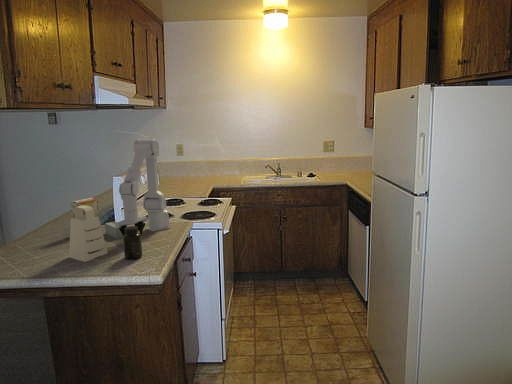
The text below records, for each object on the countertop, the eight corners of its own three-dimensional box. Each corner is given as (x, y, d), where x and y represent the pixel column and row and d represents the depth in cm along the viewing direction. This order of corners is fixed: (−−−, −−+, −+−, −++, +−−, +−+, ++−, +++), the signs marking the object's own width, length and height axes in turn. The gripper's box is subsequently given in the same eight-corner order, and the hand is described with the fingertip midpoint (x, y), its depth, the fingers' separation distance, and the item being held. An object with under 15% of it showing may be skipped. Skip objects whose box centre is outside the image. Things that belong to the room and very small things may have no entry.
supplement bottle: (121, 257, 169) (118, 227, 167) (137, 253, 174) (134, 224, 172) (130, 261, 164) (127, 230, 162) (146, 256, 169) (143, 227, 167)
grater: (92, 250, 180) (87, 203, 176) (108, 254, 174) (103, 205, 170) (69, 257, 171) (63, 208, 168) (84, 261, 165) (79, 211, 162)
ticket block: (116, 231, 205) (115, 221, 205) (127, 236, 197) (126, 225, 196) (105, 233, 202) (104, 223, 201) (116, 238, 193) (115, 227, 192)
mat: (124, 230, 209) (124, 229, 209) (150, 241, 190) (150, 240, 190) (98, 235, 200) (98, 235, 200) (122, 247, 181) (122, 247, 181)
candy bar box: (81, 237, 199) (77, 202, 196) (74, 236, 201) (70, 201, 198) (100, 231, 208) (97, 198, 205) (93, 230, 211) (90, 197, 208)
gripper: (139, 205, 192) (142, 235, 194) (110, 211, 181) (113, 243, 184) (149, 207, 187) (151, 237, 190) (119, 214, 177) (122, 246, 179)
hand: (133, 240), depth 186 cm, fingers closed on stub, 5 cm apart
